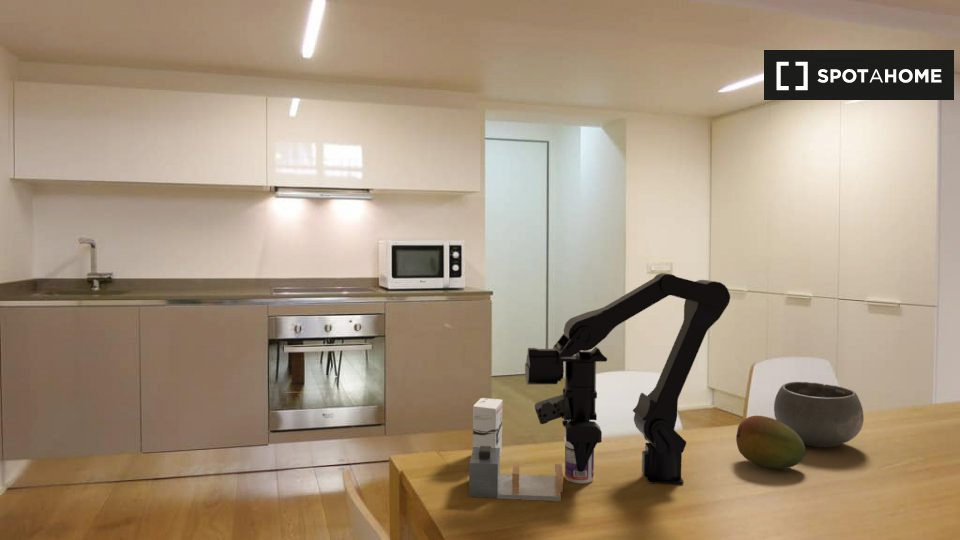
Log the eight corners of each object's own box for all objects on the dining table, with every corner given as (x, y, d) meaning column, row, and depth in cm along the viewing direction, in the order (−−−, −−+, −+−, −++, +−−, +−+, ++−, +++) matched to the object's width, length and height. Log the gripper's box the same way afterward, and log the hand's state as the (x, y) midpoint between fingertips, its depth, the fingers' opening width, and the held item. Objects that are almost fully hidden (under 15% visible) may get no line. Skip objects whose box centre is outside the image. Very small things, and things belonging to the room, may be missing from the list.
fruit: (731, 454, 140) (732, 408, 139) (795, 459, 137) (796, 411, 137) (741, 473, 128) (743, 423, 128) (811, 478, 126) (812, 427, 125)
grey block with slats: (560, 480, 124) (560, 442, 124) (563, 501, 114) (563, 460, 114) (473, 477, 125) (473, 440, 125) (468, 497, 115) (469, 457, 115)
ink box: (495, 466, 131) (496, 408, 131) (471, 464, 132) (471, 406, 132) (502, 453, 140) (503, 398, 139) (479, 451, 141) (480, 397, 140)
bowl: (864, 440, 150) (866, 385, 150) (860, 462, 135) (862, 401, 135) (779, 428, 160) (781, 376, 159) (767, 447, 145) (768, 390, 144)
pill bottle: (576, 472, 129) (577, 422, 128) (599, 479, 125) (600, 428, 124) (558, 478, 125) (559, 427, 124) (581, 486, 121) (581, 434, 120)
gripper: (536, 373, 134) (535, 449, 134) (538, 394, 115) (537, 482, 116) (592, 374, 133) (590, 450, 134) (602, 396, 114) (601, 484, 115)
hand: (579, 465), depth 125 cm, fingers closed on pill bottle, 5 cm apart
